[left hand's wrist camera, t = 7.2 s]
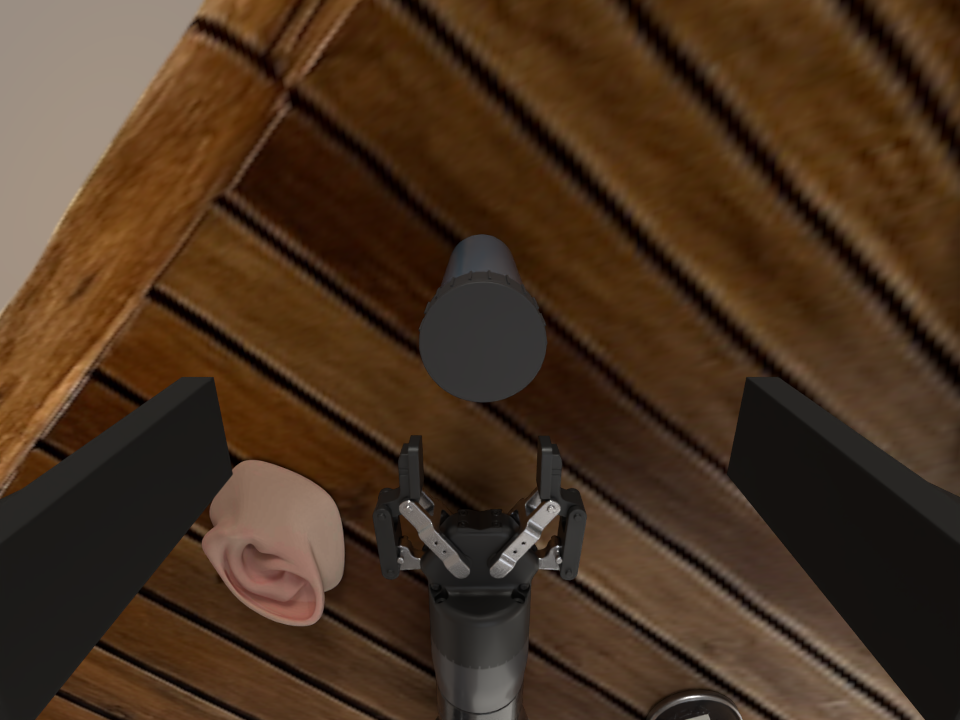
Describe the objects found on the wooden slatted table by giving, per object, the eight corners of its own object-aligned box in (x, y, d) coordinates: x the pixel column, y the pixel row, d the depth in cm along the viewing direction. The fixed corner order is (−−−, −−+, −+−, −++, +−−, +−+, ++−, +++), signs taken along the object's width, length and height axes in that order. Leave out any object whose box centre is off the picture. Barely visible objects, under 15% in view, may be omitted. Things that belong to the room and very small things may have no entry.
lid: (432, 389, 23) (428, 410, 21) (413, 277, 21) (406, 288, 19) (546, 377, 23) (552, 397, 21) (536, 262, 21) (542, 271, 19)
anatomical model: (184, 480, 36) (344, 507, 37) (212, 451, 40) (356, 476, 41) (184, 617, 41) (327, 638, 42) (209, 580, 45) (339, 600, 46)
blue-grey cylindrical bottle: (453, 303, 36) (434, 399, 21) (444, 238, 35) (417, 292, 20) (517, 296, 36) (544, 387, 21) (511, 230, 34) (534, 278, 19)
